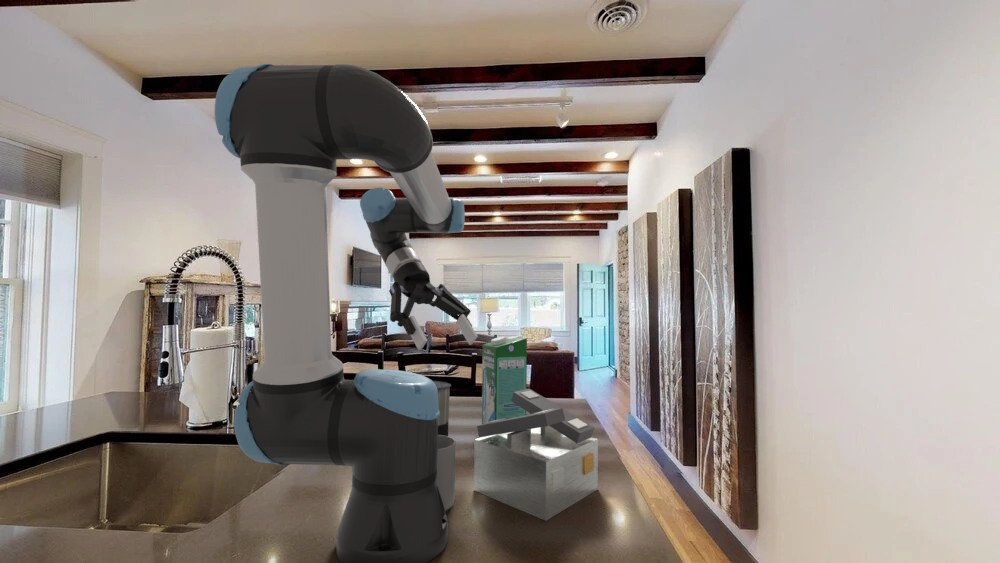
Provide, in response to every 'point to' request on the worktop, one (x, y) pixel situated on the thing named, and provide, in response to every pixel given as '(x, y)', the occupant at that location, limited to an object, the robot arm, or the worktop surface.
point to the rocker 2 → (537, 403)
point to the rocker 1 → (522, 422)
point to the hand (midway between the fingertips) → (449, 343)
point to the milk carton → (503, 377)
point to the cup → (446, 470)
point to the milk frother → (443, 407)
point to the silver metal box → (535, 470)
